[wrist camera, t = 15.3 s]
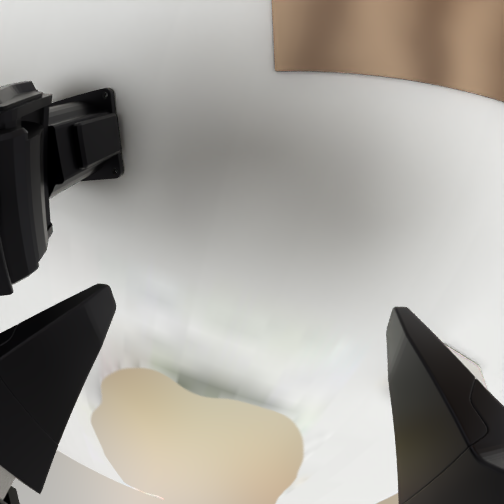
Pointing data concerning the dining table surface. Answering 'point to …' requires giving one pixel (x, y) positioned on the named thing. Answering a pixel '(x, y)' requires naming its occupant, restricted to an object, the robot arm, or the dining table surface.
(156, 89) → the dining table surface
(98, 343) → the robot arm
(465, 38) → the wooden base with peg
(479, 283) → the dining table surface
